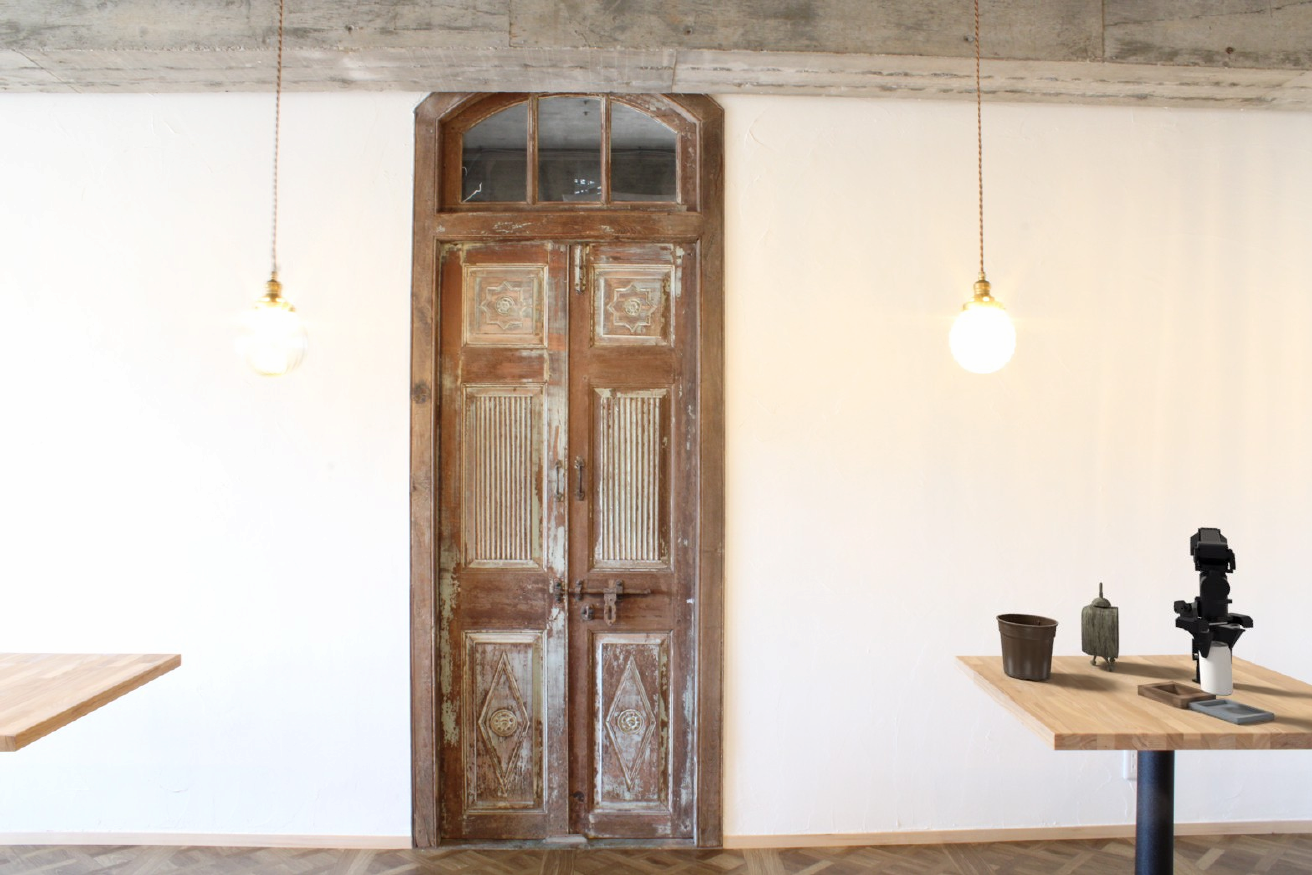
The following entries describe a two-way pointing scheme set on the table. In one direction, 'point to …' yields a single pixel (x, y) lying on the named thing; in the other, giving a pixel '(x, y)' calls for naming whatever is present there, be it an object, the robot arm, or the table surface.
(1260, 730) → the table surface
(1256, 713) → the tray
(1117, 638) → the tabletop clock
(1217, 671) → the can
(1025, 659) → the plant pot
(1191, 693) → the wooden square frame
